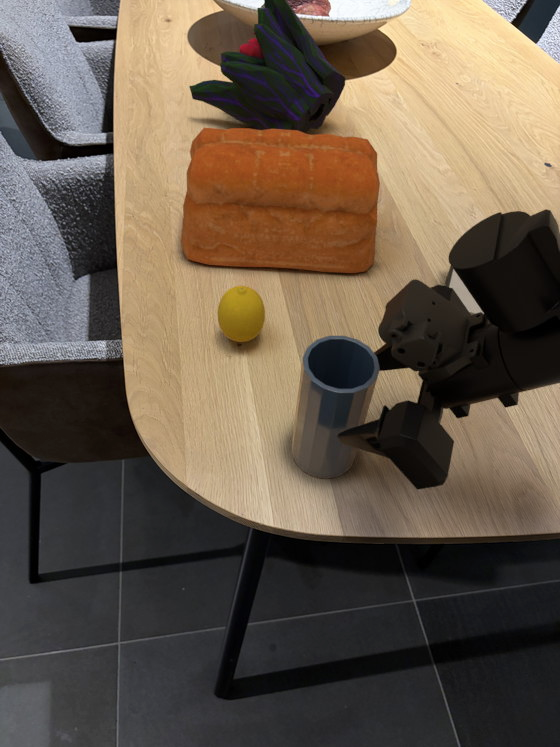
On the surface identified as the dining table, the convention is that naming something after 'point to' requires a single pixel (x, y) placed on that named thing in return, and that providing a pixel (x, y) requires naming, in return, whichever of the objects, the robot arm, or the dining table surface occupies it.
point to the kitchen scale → (462, 291)
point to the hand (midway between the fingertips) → (353, 400)
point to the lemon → (241, 313)
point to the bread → (281, 200)
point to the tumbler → (332, 403)
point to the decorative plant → (275, 76)
